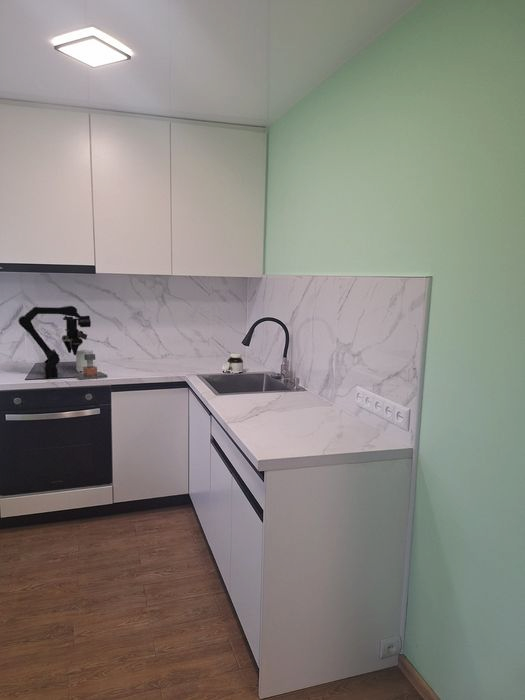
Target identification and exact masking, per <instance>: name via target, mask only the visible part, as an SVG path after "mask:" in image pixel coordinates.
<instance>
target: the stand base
mask: <svg viewBox="0 0 525 700" xmlns="http://www.w3.org/2000/svg"><path fill="white" fill-rule="evenodd" d="M74 377H75V378H74ZM72 378H74V379H76V378H77V381H86V380H87V381H88V380H95V379H104V378H105V379H106V378H108V374H106V373H104V372H102V371H98V367H97V366H95V365H93V367H91V368H88V367H87V366H86V367H83V372H81V373H73V374H72Z"/></svg>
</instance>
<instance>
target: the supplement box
mask: <svg viewBox="0 0 525 700" xmlns="http://www.w3.org/2000/svg"><path fill="white" fill-rule="evenodd" d="M84 354H94V350H89V349H81V350H77V353H76V355H75V357H76V359H75V360H76V361H75V362H76V363H75V364H76V369H75V370H77V371H76V372H80V371H82V372H81V373H83V367H86V366H87V360H85V358H84Z"/></svg>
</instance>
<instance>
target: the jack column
mask: <svg viewBox="0 0 525 700" xmlns="http://www.w3.org/2000/svg"><path fill="white" fill-rule="evenodd" d="M84 358H85V360H87V367H88V368H91V367H93V366H94V361H95V360H96V354H94V353H93V354H84Z"/></svg>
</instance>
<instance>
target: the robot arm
mask: <svg viewBox="0 0 525 700" xmlns="http://www.w3.org/2000/svg"><path fill="white" fill-rule="evenodd" d="M37 315H63V316H64V317H62V320H63V321H65V322H66V323H65V325H66V326H65V327H66V328H65V329H64V330H65V332H66V334H65V335H62V336H61V341H62V343H63V344H64V347H65V348H66V350H67V352H68V353H69V354H71V353H73V356H76V353H77V351H79V350H78V348H79V347H80V346H81V345H82V344H83V343H84V341H83V340H85V341H86V340H87V337H88V334H87V333H84V331H82V330H79V329H78V326H79V327H80V328H91V326H92V320H91V317H90V315H80V313H79V312H78V309H77V308H76V307H75V306H73V305H65V306H59V307H50V306H49V307H48V306H45V307H44V306H33V307H32V309H30V310H29V311H28V312H26V313H25V314H24V315H21V316H19V317H18V320H17V321H18V324H19V325H20V326H21V327H22V328H23V329H24V330H26V332H28V334H29V335H30V336H31V337H32V338H33V340H34V341H35V342H36V344H37V345H38V346H39V347H40V349H41V350H42V351H43V353H44V355H45V357H46V360H45V361H44V362H43V365H44V366H43V375H42V377H43V378H45V379H53V378H55V377H56V378H59V376H58V375H59V373H58V370H59V369H58V367H57V365H59V362H60V361H61V359H60V355H59V353H57V351H56V349H51V348H50V347H49V345H47V343H46V342H45V341H44V339H43V338H42V337H41V335H40V334H39V333H38V332H37V330H36V329H35V326H34V324H33V323H32V321H33V320H34V319H35V318H36V317H37ZM73 317H74V318H73Z"/></svg>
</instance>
